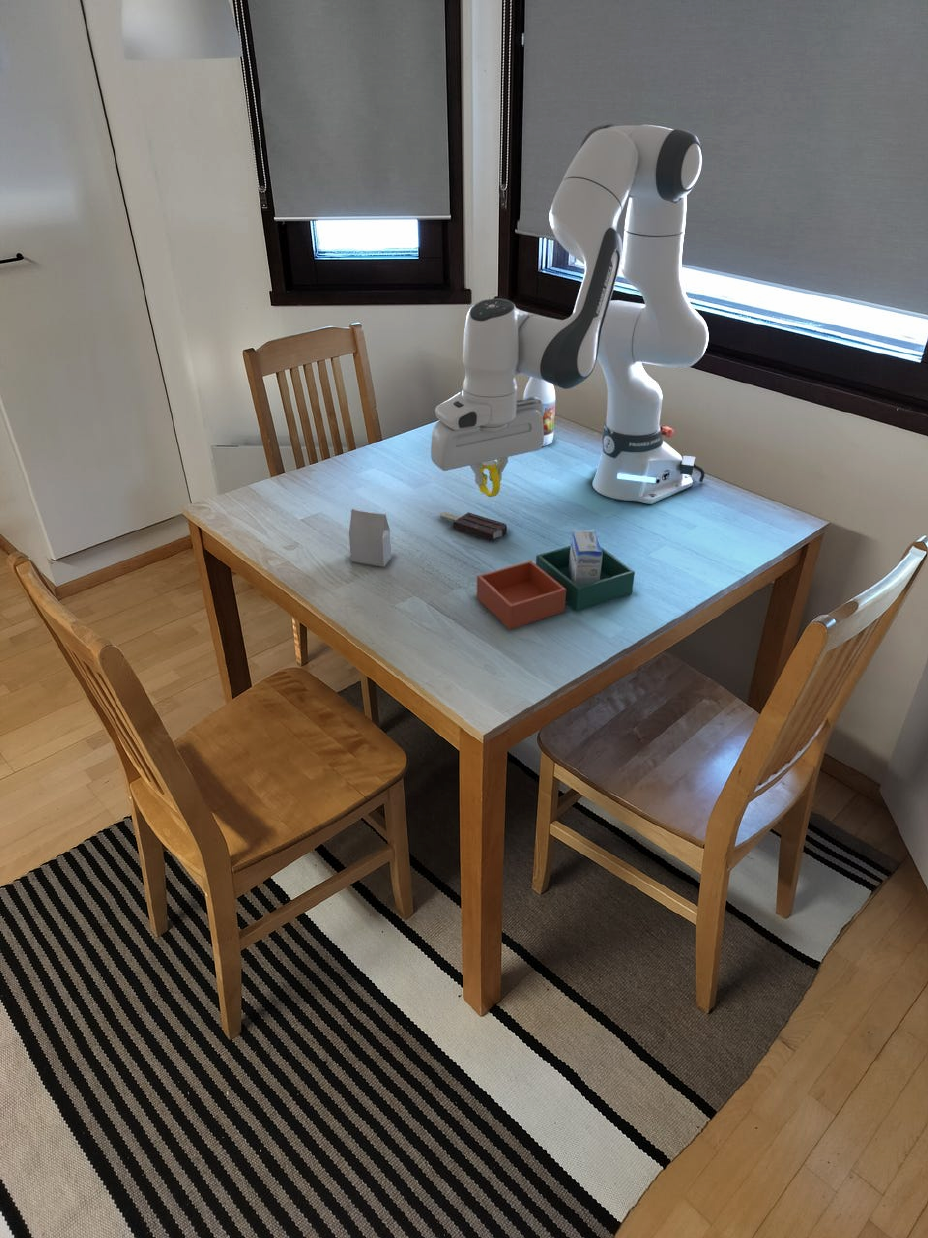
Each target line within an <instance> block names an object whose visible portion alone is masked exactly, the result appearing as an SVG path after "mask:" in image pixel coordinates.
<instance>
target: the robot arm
mask: <svg viewBox="0 0 928 1238" xmlns="http://www.w3.org/2000/svg"><path fill="white" fill-rule="evenodd" d="M703 154H704V153H703V147H702V145H701V143H700V141H699V138H698V137H697V135H696V134H694V133H692V132H690V131H687V130H685V129H681V128H674V129H672V128H668V127H665V126H659V125H651V124H650V125H649V124H640V125H636V124H635V125H634V124H633V125H631V124H630V125H629V124H628V125H626V124H625V125H614V124H603V125H599V126H596V127H593V128H592V129H591V130H590V131H588V133H586V135H585V136H584V137H583V139H582V140H581V143H580V145H579V147H578V151H577V153H576V155H575V156H574V158H573V159H572V161H571V163H570V164H569V167H568V168H567V170H566V171H565V173H564V175H563V178H562V180H561V182H560V184H559V187H557V188H558V189H557V190H556V193H555V195H554V197H553V199H552V202H551V206H550V209H549V224H550V229H551V231H552V233H553V234H552V235H554V238H555V239H556V240H557V242H558V243H559V244H560V246H561V247H562V248H563V249H564V250H565V251H566V252H567V253H568V254H569V255H570V256H572V257H574V258H575V259H576V260H578V261H580V263H582V264H583V265H584V274H583V277H582V281H581V284H580V287H579V292H578V294H577V298H576V301H575V305H574V309H573V312H572V314H571V315H570V316H569V317H567V318H565V319H557V318H552V317H548V316H544V315H540V314H537V313H533V312H529V311H525V310H521V309H519V308H517V307H516V304H515V303H514V302H513V301H511V300H509V299H506V298H496V297H495V298H489V299H488V298H487V299H482V300H480V301H478V302H476V303H474V304H473V305H472V306H471V307H469V309H468V311H467V314H466V319H465V323H464V331H463V341H462V342H463V343H462V362H463V367H464V370H465V371H464V373H465V375H464V380H463V383H462V391H460V392H458V393H457V394H455V395H454V396H452V397H450V398H449V399H447V400H445V401H443V402H442V403H441V402H440V404H438V405H437V406H436V407H435V409H434V415H435V417H436V419H438V421H437V422H436V423H435V425H434V427H433V429H432V434H431V446H430V447H431V450H430V451H431V452H430V453H431V457H430V458H431V461H432V463H433V464H434V465H435V466H436V467H437V468H438V469H440V470H441V471H443V472H447V471H452V470H456V469H461V468H465V467H470V470H471V471H472V472H473V473H474V482H475V484H476V485H477V486H478V487H479V486H481V485H485V484H486V485H488V480H489V481H491V482H492V478H491V474H490V472H489V471H488V474H489V475H487V474H486V473H485V472H484V473H483V472H481V471H480V469H479V468H482V463H483V462H488V461H492V460H494V461H496V469H497V471H498V474H499V478H500V482H502V477H503V475H502V474H503V472H504V470H505V468H506V467H507V465H508V464H509V458H510V457H513V456H519V455H523V454H527V453H532V452H536V451H539V450H541V448H542V447H543V446H542V445H543V443H544V431H543V420H542V415H543V403H542V401H541V400H540V399H538V398H536V397H528V398H525V399H523V398H518V382H517V377H516V376H518V375H520V374H521V375H523V376H526V377H529V378H530V377H533V378H537V379H541V380H545V381H546V382H548V383H551V384H553V386H556V387H559V388H561V389H563V390H564V389H565V390H568V389H572V388H574V387H576V386H578V385H579V384H581V383H583V382H584V381H585V380H587V379H588V378H589V377H590V376H591V374H593V371H594V370H595V366H596V364H597V362H598V363H599V366H600V368H601V370H602V372H603V374H604V377H605V381H606V386H607V407H606V421H605V422H604V423H603V428H602V429H603V430H602V439H601V440H602V449H601V454H600V458H599V463H598V466H597V470H596V473H595V476H594V478H593V480H592V487H593V489H594V490H595V491H596V492H597V493H599V494H600V495H602V496H604V497H607V498H610V499H612V500H613V499H614V500H618V501H625V502H626V501H628V502H638V503H643V504H648V505H650V504H651V505H652V504H654V503H658V502H659V501H661V500H664V499H666V498H669V497H670V496H673V495H675V494H677V493H680V492H681V491H684V490H687V489H689V488H691V487H693V485H694V484H693V483H694V481H693V479H692V477H691V476H693V472H694V469H695V470H697V471H698V472H699V474H700V477H699V479H698V482H699V483H702V482H703V481H704V479H705V470H704V469H703V468H702V467H700V466H699V465H697V464H696V463H695V461H696V456H690V455H683V456H681V454H680V453H679V452H678V451H677V450H675V449H674V448H673V447H672V446H670V445H669V443H667V442H665V441H664V436H665V438H667V439H670V438H672V437H673V436H674V434H675V430H674V429H673V428H671V427H669V426H668V425H667V426H662V424H660V423H661V422H660V420H661V413H662V407H663V401H664V400H663V399H664V396H663V391H662V389H661V386H660V385H659V384H658V382H656V380H654V379H653V378H652V377H651V376H649V374H648V373H647V372H646V370H645V369H644V366H643V365H642V363H643V364H648V365H653V366H657V367H664V368H688V367H692V366H694V365H695V364H696V363H697V362H698V361H700V360H701V358H702V357H703V356H704V354H705V352H706V349H707V348H708V343H709V330H708V326H707V323H706V321H705V320H704V318H703V317H702V316H701V315H700V314H699V312H698V311H697V310H696V309H695V307H693V305H692V304H691V302H690V300H689V298H688V295H687V294H686V289H685V288H684V282H683V277H682V259H683V248H684V247H683V246H684V237H685V229H686V219H687V195H689V194H690V193H691V191H692V190H693V189H694V188H695V186H696V184H697V183H698V181H699V179H700V175H701V172H702V167H703V161H704V155H703ZM627 201H628V202H627ZM626 203H627V207H626V212H625V220H624V230H623V239H622V238H621V237H622V236H621V235H620V234H619V232H618V231H617V230H618V229H617V228H618V223H619V219H620V216H621V214H622V212H623V209H624V207H625V206H626ZM620 268H621V272H622V275H623V277H624V279H625V280H626V281H627V282H628V283H629V284H630V285H631V286H633V287H634V288H635V289H636V290H637V291H638V292H639V293H640V296H641V297H642V299H643V302H644V303H640V302H633V301H627V300H626V301H625V300H619V299H617V300H616V299H615V300H611V299H612V296H613V292H614V289H615V285H616V283H617V278H618V274H619V270H620ZM536 401H537V402H536Z"/></svg>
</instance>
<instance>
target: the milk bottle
mask: <svg viewBox="0 0 928 1238" xmlns="http://www.w3.org/2000/svg"><path fill="white" fill-rule="evenodd" d="M528 397H536V398H538V399H540V400H541V401H542V403H543V415H542V420H543V431H544V443H543V445H542V447H544V446H548V445H550V444H552V442H553V439H554V430H555V429H554V428H555V427H554V426H555V411H556V408H555V407H556V391H555V387H554V385H553V384H551V383H548V382H546V381H545V380H541V379H537V378H533V377H530V376H529V379H528V381H527V383H526V386H525V388H524V391H523V397H522V399H525V398H528ZM536 402H537V401H536Z"/></svg>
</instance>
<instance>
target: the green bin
mask: <svg viewBox="0 0 928 1238" xmlns="http://www.w3.org/2000/svg"><path fill="white" fill-rule="evenodd" d="M600 547H601V550H602V552H603V556H602V565H601V573H600V581H597V582H594V583H591V584H587V585H584V586H581V587H579V586H577V585H576V584H575V583H574V582H572V581H571V578H570V574H569V571H568V568H569V559H570V549H571V545H568V546H565V547H561V548H558V549H554V550H551V551H550V550H549V551H547V552H544V553H540V554H536V557H535V564H536V565H537V566H538V567H540V568H541V569H542V570H543V571H545V572H546V573H547V574H548V575H549V576H551V577H552V578H553V579H554V580H555V581H557V582H558V583H559V584H560V585H562V586H563V587H564V588H565V589H566V598H565V604H566V605H568V606H569V607H571V609H572V610H574V611H575V612H579V611H582V610H586V609H589V608H593V607H595V606H597V605H601V604H604V603H608V602H611V601H614V600H617V599H620V598H623V597H626V596H629V595H633V591H634V590H633V589H634V583H635V574H636V571H635V570H634V569H632V568H630V567H629V566H628V565H627V564H626V563H624V562H622V561H621V560H620V559H619V558H617V557H616V556H614V555H613V554H612V553H610V552H609V551H607V550H606V549H604V548H603V547H602V546H600Z"/></svg>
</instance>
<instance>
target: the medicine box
mask: <svg viewBox="0 0 928 1238" xmlns="http://www.w3.org/2000/svg"><path fill="white" fill-rule="evenodd" d="M570 546H571V549H570V559H569V568H568V571H569V574H570V578H571V581H572V582H574V583H575V584H576V585H577V586H579V587H581V586H584V585H587V584H591V583H594V582H597V581H600V573H601V565H602V556H603V552H602V550H601V547H602V546H601V543H600V540H599V537H598V534H597V531H596V530H590V529H587V530H586V529H584V530H583V529H582V530H573V531H572V532H571V541H570Z"/></svg>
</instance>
